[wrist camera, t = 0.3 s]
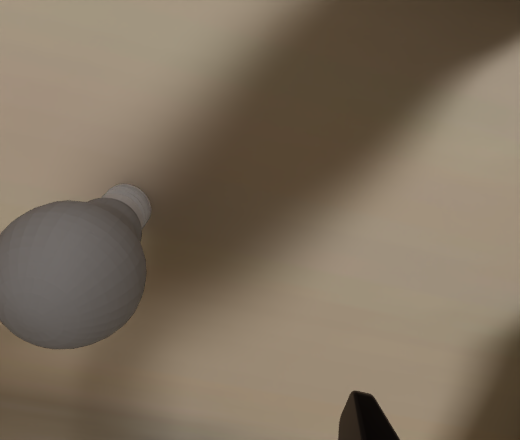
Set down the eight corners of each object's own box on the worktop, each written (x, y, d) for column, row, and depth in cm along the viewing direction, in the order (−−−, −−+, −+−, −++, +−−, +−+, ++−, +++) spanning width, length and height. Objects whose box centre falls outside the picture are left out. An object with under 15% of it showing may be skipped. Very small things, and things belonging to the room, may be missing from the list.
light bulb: (190, 250, 26) (127, 387, 17) (90, 248, 26) (-22, 380, 17) (177, 149, 23) (95, 249, 14) (66, 150, 24) (-80, 245, 15)
